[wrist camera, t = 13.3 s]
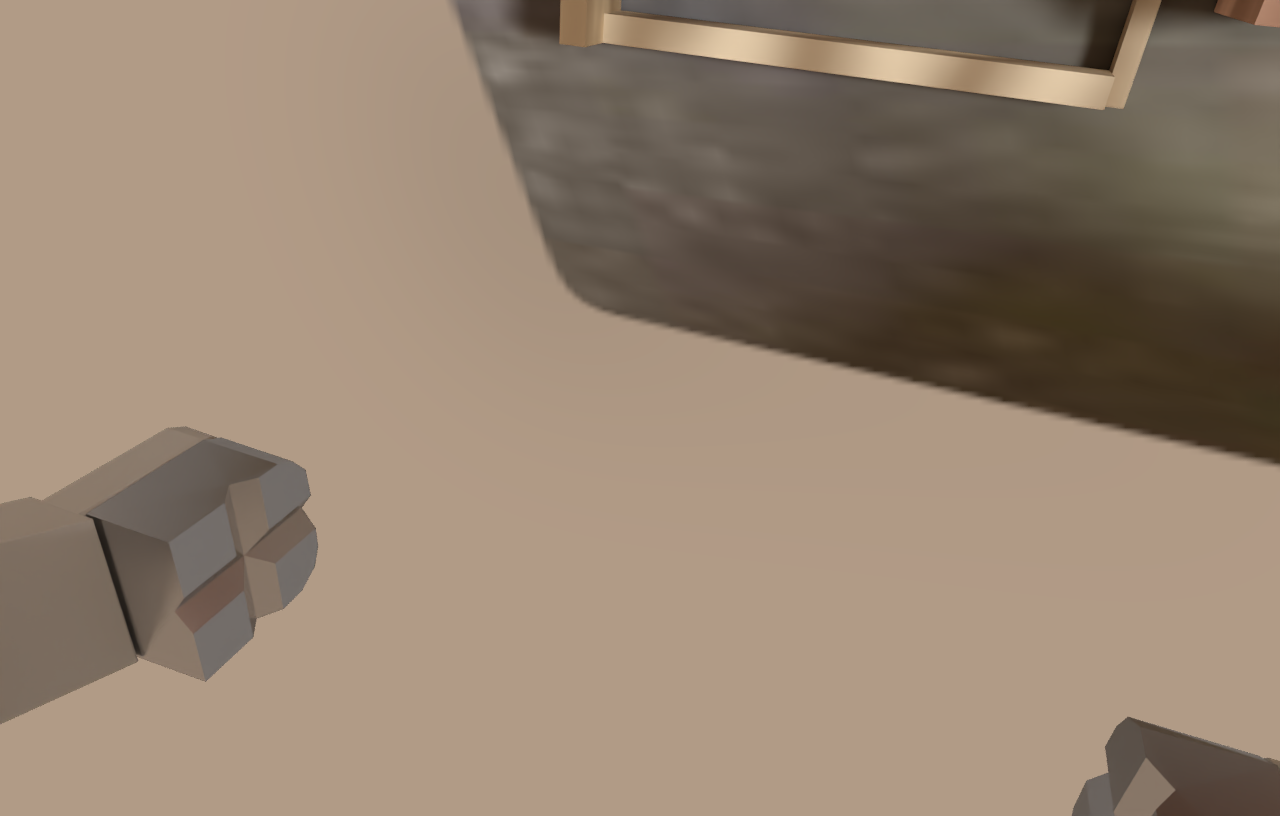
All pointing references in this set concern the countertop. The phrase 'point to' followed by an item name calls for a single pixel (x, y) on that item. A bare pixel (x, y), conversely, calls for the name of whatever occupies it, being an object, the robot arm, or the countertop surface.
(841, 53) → the frame
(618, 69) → the countertop surface
